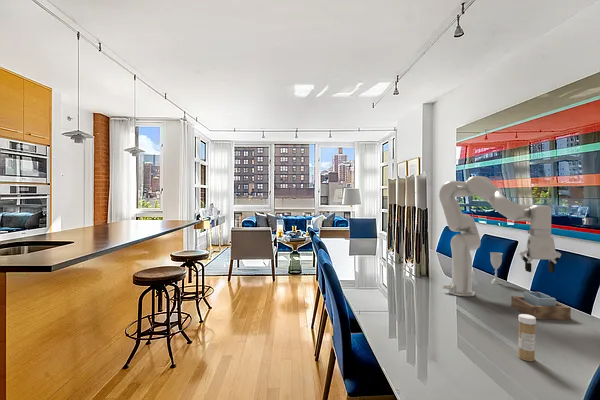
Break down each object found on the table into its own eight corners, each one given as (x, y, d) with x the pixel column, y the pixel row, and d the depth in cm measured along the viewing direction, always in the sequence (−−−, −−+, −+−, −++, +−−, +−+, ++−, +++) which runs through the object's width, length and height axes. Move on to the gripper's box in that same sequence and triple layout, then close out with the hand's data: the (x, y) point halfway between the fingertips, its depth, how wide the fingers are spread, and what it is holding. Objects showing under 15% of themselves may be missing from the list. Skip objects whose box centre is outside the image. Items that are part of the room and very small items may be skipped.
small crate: (538, 315, 147) (539, 298, 147) (523, 306, 158) (523, 291, 158) (555, 315, 147) (556, 299, 147) (539, 307, 158) (539, 292, 158)
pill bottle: (519, 353, 112) (520, 312, 111) (536, 358, 108) (537, 315, 108) (516, 358, 108) (517, 315, 108) (533, 363, 105) (534, 319, 105)
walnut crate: (531, 318, 145) (532, 306, 145) (511, 306, 161) (511, 296, 161) (570, 319, 144) (570, 307, 144) (546, 307, 160) (546, 297, 160)
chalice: (504, 285, 202) (504, 254, 201) (491, 284, 203) (492, 253, 203) (499, 282, 209) (500, 252, 209) (487, 281, 210) (488, 251, 210)
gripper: (525, 233, 149) (524, 273, 149) (567, 234, 148) (566, 274, 148) (515, 232, 156) (514, 269, 157) (555, 232, 155) (554, 270, 156)
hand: (539, 271), depth 152 cm, fingers open, 9 cm apart
